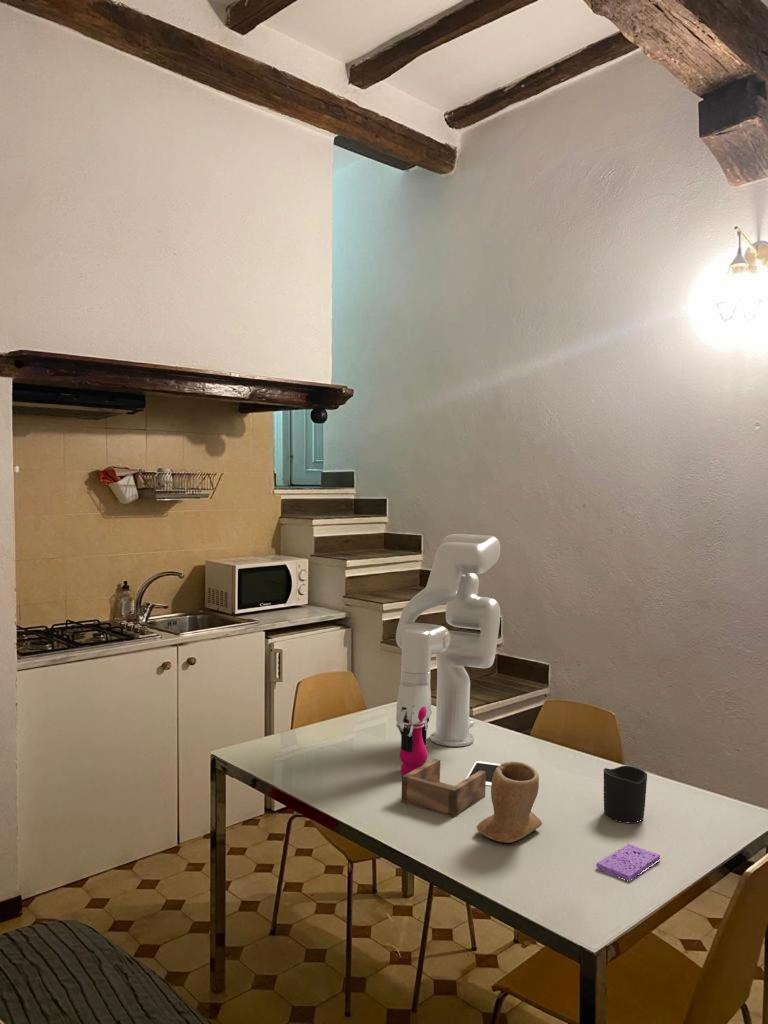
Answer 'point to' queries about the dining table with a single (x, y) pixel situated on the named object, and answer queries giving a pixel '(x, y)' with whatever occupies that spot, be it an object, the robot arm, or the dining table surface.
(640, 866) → the sponges
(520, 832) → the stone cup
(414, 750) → the pepper mill
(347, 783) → the dining table surface
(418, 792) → the holder
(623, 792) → the pen holder
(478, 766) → the cell phone
